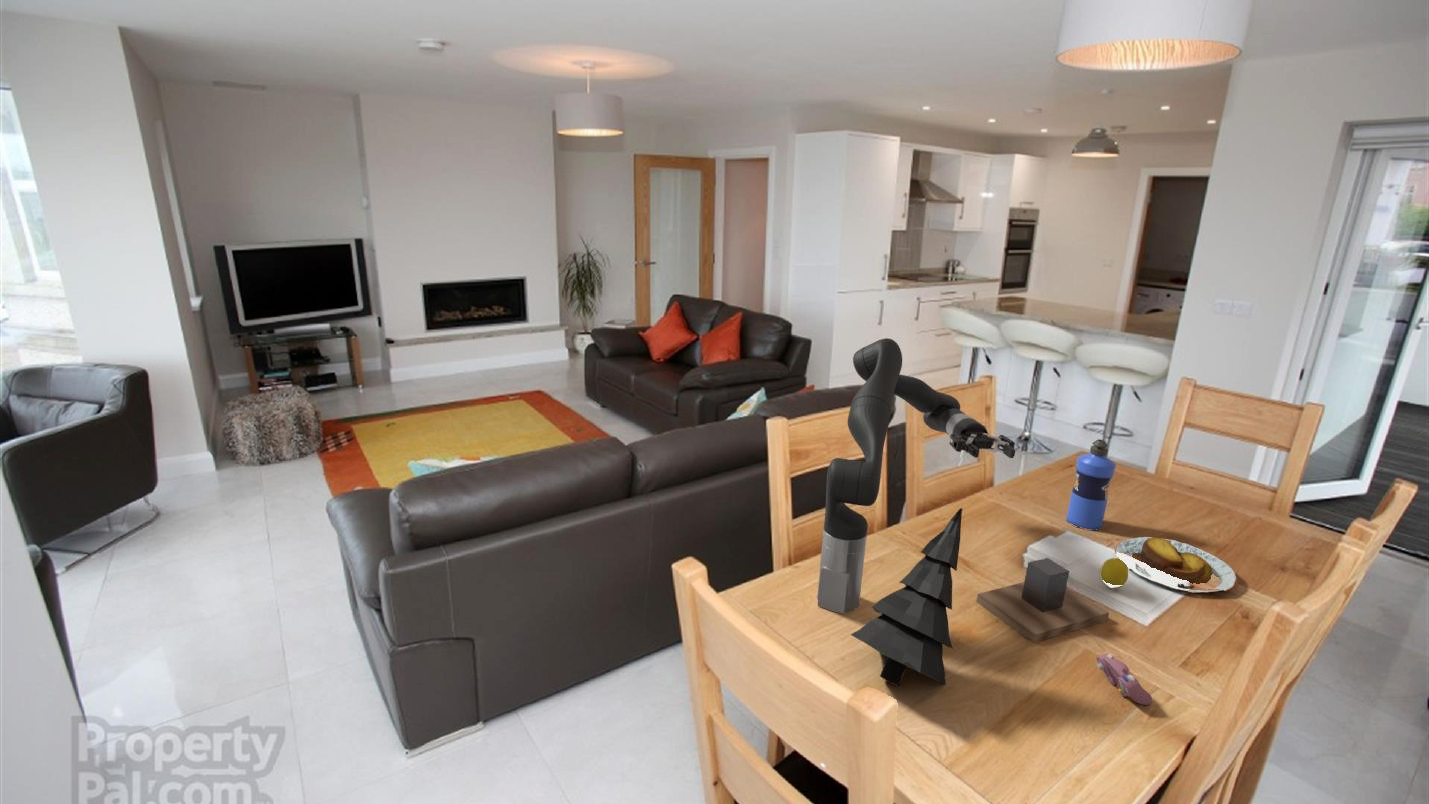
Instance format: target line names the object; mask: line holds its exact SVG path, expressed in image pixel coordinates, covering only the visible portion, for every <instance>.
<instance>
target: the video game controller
mask: <svg viewBox="0 0 1429 804" xmlns="http://www.w3.org/2000/svg"><path fill="white" fill-rule="evenodd" d="M1096 662H1097V665H1096V666H1097V668H1098V669H1099V670H1100V671H1102V672H1103V673H1104V674H1105V676H1106V678H1107V680H1108V682H1110V684H1111V685H1113V686H1115V685H1116V687H1117V690H1118V691H1117V692H1118V693H1119V694H1121V695H1122V696H1123V697H1124V698H1126V697H1129V698H1131V699H1132V700H1133V701H1135V702H1136V703H1137V704H1140V705H1143V706H1148V705H1149V706H1150V704H1152V702H1153V697H1152V695H1151V694H1150V693H1149V692H1148V691H1146V689H1145V688H1143V687H1142V685H1141V684H1140V683H1139V680H1137V678H1136V677H1135V676H1134V674H1132V673H1131V671H1130V669H1129V667H1128V666H1127V664H1126V663H1124V662H1123V661H1121V660H1119V659H1117V658H1116V657H1114V656H1113V654H1112V653H1109V654H1101V655H1098V656H1096Z"/></svg>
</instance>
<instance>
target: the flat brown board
mask: <svg viewBox="0 0 1429 804" xmlns="http://www.w3.org/2000/svg"><path fill="white" fill-rule="evenodd" d="M1024 582H1025V581H1023V582H1018V583H1015V584H1011V585H1006V586H1003V587H999V588H995V589H991V590H988V591H983V592H979V593H977V596H976V600H975V601H976V603H978V604H979V605H980V606H982V607H983V608H985V609H986V610H987V611H989V612H990V613H992V614H993V615H994V616H996V617H997V618H998V619H1000V620H1001V621H1003V623H1006V624H1007V625H1008V626H1010V627H1011V628H1013V629H1014V630H1015V631H1017V632H1018V633H1020V634H1021V635H1022V636H1024V637H1025V638H1027V639H1028V640H1029V641H1031V642H1032V643H1033V644H1035V643H1039V642H1042V641H1045V640H1048V639H1051V638H1052V639H1053V638H1055V637H1059V636H1062V635H1065V634H1067V633H1071V632H1075V631H1077V630H1081V629H1083V628H1087V627H1091V626H1094V625H1097V624H1101V623H1103V622H1107V621H1108V620H1109V615H1110V612H1109V611H1108V610H1106V609H1104V608H1103V607H1101V606H1099V605H1098V604H1096V603H1095V602H1093V601H1092V600H1090V599H1088V598H1086V597H1084V596H1082V595H1081V594H1079V593H1078V592H1076V591H1074V590H1073V589H1071V588H1069V587H1068V586H1066V591H1065V596H1064V600H1063V605H1062V608H1058V609H1054V610H1050V611H1046V612H1041V611H1039V610H1038V609H1036V608H1035V607H1033V606H1032V605H1031V604H1029V603H1028V602H1026V601H1025V600H1023V599H1022V592H1023V587H1024Z"/></svg>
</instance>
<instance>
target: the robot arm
mask: <svg viewBox="0 0 1429 804" xmlns="http://www.w3.org/2000/svg"><path fill="white" fill-rule="evenodd" d="M852 361H853V362H852V363H853V366H854V370H855V371H856V373H857V374H858V376H859V378H861V379H862V380H864V381H865V383H864V384H863V385H862V386H861V387H860V389H858V391H857V392H856V394H855V395H854V397H853V399H852V401H851V403H850V408H849V412H848V417H847V427H848V430H849V432H850V434H851V436H852V438H853V440H854V441H855V442H856V444H857V445H858V447H859V449H860V450H861V452H862V454H863V456H864V459H865V461H862V460H855V459H849V458H848V459H847V458H841V457H840V458H839V457H836V458H833V459H832V460H830V461H831V462H830V463H829V465H828V469H827V474H826V486H825V487H826V488H825V491H826V492H825V511H824V512H825V513H824V521H823V531H822V541H821V543H822V544H821V554H820V564H819V573H818V574H819V577H818V586H817V595H816V596H817V597H816V598H817V606H818V607H821V608H824V609H826V610H829V611H831V612H832V611H833V612H835V613H838V614H840V615H845V614H846V613H848V612H852V611H855V610H857V608H858V607H859V606H860V600H861V593H862V592H861V590H862V581H863V573H864V563H865V555H866V547H867V545H866V544H867V536H868V527H869V526H868V525H869V523H868V520H867V518H865V516H863V515H862V514H861V513H859V512H857V511H855V510H853V509H852V508H850V507H849V506H848V505H855V506H860V507H861V506H862V507H872V505H874V504H875V503H876V501H877V499H878V496H879V491H880V485H881V477H882V468H883V467H882V466H883V465H882V464H883V454H884V447H885V444H886V443H885V441H886V438H887V432H888V428H889V423H890V420H891V419H890V418H891V411H892V404H893V398H894V396H896V397H899V398H900V399H902V400H904V401H905V402H906V403H908V404H909V405H910V406H912V407H913V408H914V409H916V411H918V412H919V413H922V414H923V417H922V419H923V422H924V424H925V425H926V426H927V427H928V428H930V430H934V431H935V432H936V431H937V432H941V433H946V434H947V435H948V436H949V443H948V444H949V445H950V446H951V447H952V448H953V450H955V451H956V452H957V453H961V452H962V451H964V453H966V454H969V456H970V455H971V456H972V457H973V458H979V455H980V450H983V451H989V452H993V453H998V452H999V453H1002V454H1003V455H1005V456H1006V457H1008V458H1009V459H1014V457H1015V455H1016V449H1015V445H1016V442H1015V441H1013V440H1012V439H1010V438H1008V437H1007V436H1005V435H1003V434H999V437H998V436H997V437H996V436H993V435H991V434H990V433H989V431H988V430H987V428H986V427H985V426H984V425H983V424H982V423H981V422H979V421H978V420H976V419H975V418H973V417H972V416H971V415H968V414H966V413H965V412H963V411H962V410H961V404H960V402H959V400H958V399H957V398H955V397H954V396H952V395H951V394H947V393H944V392H939V391H937V390H935V389H933V388H932V386H930V385H929V384H928V383H926V382H925V381H924V380H921V379H919V378H917V377H914V376H911V375H904V374H901V371H902V368H903V354H902V350H901V348H900V345H899V344H898V343H897V342H896V341H895V340H894V339H892V338H888V337H887V338H881V339H878V340H876V341H875V342H873V343H872V342H871V343H870V344H867V345H866V346H864V347H862V348H860V349H858V350H856V352H855V353H854V354H853V357H852ZM993 446H994V447H993ZM1000 447H1001V448H1000ZM846 504H848V505H846Z"/></svg>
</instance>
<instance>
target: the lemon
mask: <svg viewBox="0 0 1429 804" xmlns="http://www.w3.org/2000/svg"><path fill="white" fill-rule="evenodd" d="M1100 578H1102V579H1101V581H1102V580H1104V581H1105V582H1106V583H1110V584H1112V585H1123V586H1124V585H1125V584H1126V583H1127V582H1128V581H1127V580H1128V578H1129V569H1128V567H1127V565H1126V564H1125V563H1124V562H1123V561H1122V560H1120V559H1119V558H1118V557H1113V558H1109V559H1107V560H1106V561H1104V562H1103V565H1102V566H1101V570H1100Z"/></svg>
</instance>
